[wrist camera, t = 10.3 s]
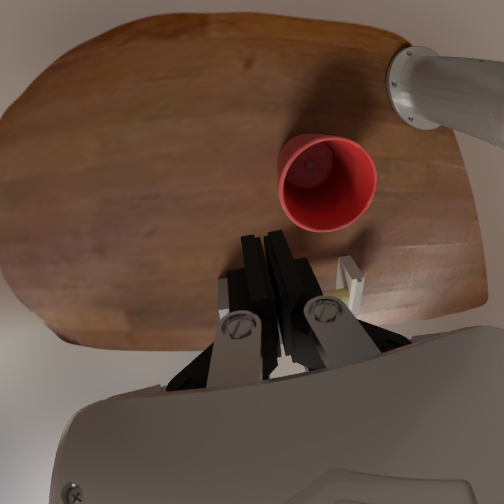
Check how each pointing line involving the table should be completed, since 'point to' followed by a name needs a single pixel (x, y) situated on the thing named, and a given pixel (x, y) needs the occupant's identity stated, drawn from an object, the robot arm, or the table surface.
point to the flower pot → (325, 181)
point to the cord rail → (346, 290)
